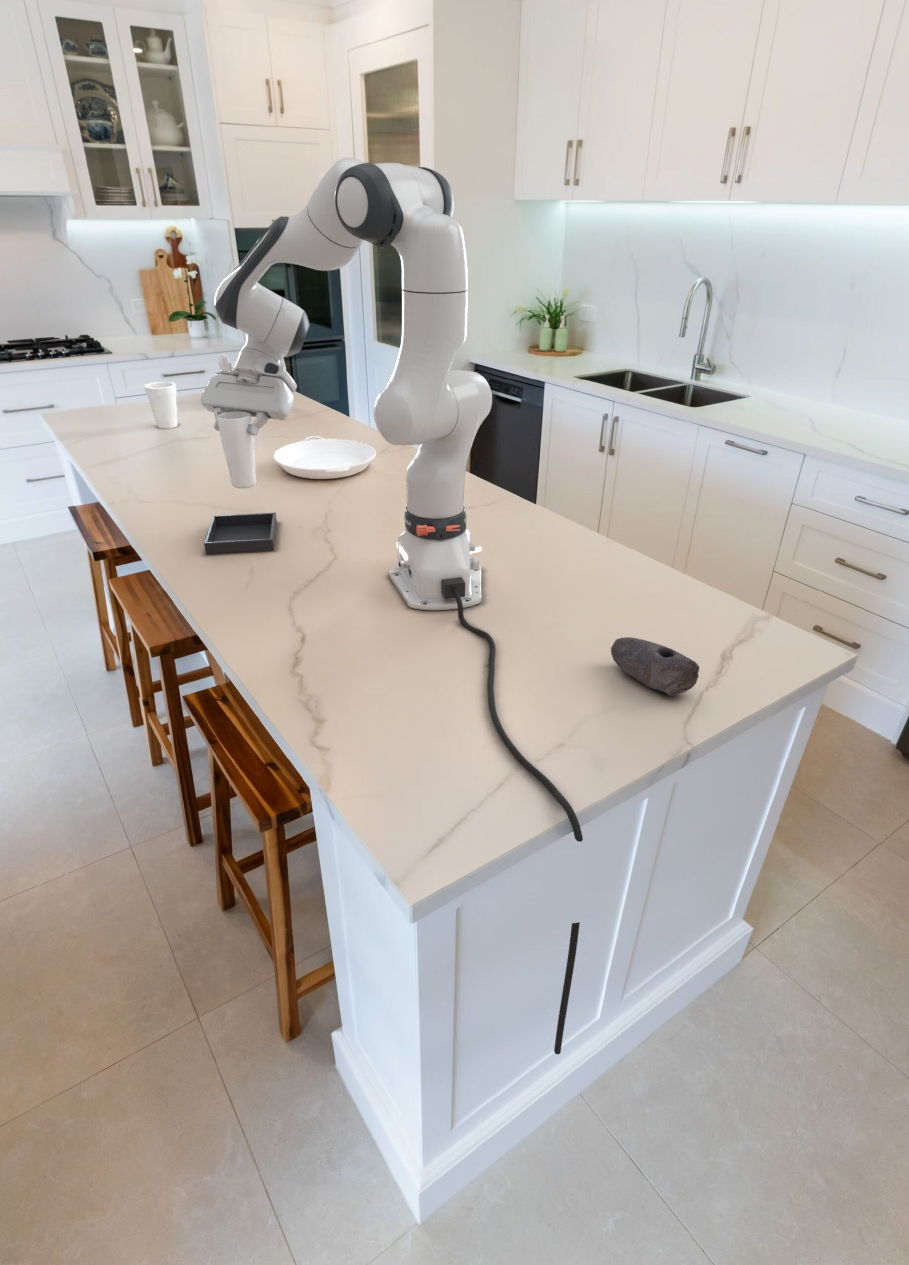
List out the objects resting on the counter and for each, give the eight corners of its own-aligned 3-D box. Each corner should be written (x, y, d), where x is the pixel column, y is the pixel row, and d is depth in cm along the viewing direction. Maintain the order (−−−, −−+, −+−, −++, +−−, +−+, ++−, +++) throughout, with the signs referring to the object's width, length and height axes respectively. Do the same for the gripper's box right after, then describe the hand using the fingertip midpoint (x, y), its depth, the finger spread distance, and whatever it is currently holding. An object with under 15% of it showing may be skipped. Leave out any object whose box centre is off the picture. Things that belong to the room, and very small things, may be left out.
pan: (392, 480, 199) (391, 464, 197) (286, 492, 190) (285, 476, 188) (359, 445, 226) (358, 431, 223) (265, 455, 217) (263, 440, 214)
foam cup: (153, 423, 245) (145, 382, 239) (182, 421, 248) (175, 381, 241) (152, 430, 238) (144, 389, 231) (182, 428, 240) (175, 387, 233)
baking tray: (274, 550, 159) (272, 539, 157) (206, 554, 157) (204, 543, 155) (277, 523, 172) (275, 512, 171) (214, 526, 170) (212, 515, 169)
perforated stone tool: (600, 666, 121) (604, 630, 117) (620, 655, 124) (625, 620, 120) (676, 709, 111) (684, 671, 108) (696, 696, 114) (705, 658, 110)
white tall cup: (252, 491, 156) (242, 420, 148) (222, 489, 157) (210, 418, 149) (265, 481, 161) (256, 411, 154) (236, 479, 162) (226, 410, 155)
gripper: (207, 361, 156) (184, 418, 153) (290, 368, 149) (268, 428, 146) (223, 378, 162) (202, 434, 159) (303, 386, 155) (283, 445, 152)
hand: (234, 431), depth 152 cm, fingers closed on white tall cup, 7 cm apart
